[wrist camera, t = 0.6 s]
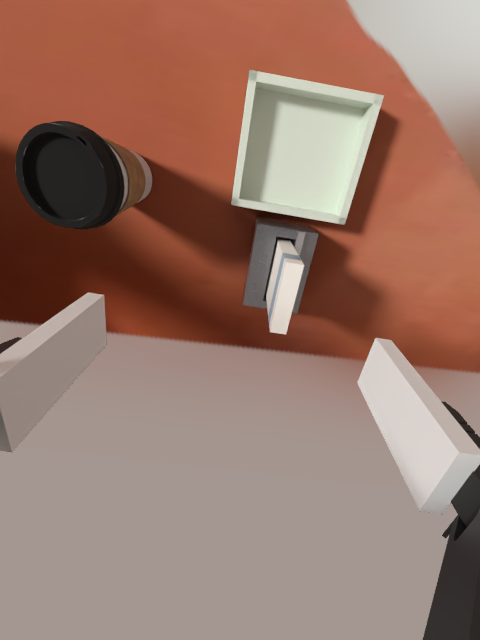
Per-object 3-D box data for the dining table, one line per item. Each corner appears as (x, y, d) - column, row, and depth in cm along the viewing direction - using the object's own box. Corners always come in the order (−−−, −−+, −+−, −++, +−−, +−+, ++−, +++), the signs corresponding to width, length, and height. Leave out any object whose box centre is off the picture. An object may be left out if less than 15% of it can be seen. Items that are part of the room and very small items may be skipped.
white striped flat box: (264, 284, 42) (269, 332, 29) (275, 233, 39) (285, 262, 26) (276, 286, 42) (286, 334, 29) (287, 235, 39) (304, 265, 26)
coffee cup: (176, 175, 37) (132, 176, 23) (137, 226, 40) (79, 254, 26) (118, 120, 35) (33, 86, 21) (82, 179, 38) (-13, 182, 24)
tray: (232, 202, 38) (231, 205, 35) (249, 79, 33) (249, 69, 29) (337, 220, 39) (344, 224, 35) (371, 103, 33) (383, 95, 30)
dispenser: (243, 288, 43) (242, 306, 37) (256, 216, 39) (257, 224, 33) (291, 296, 43) (297, 315, 37) (309, 225, 39) (319, 235, 33)
